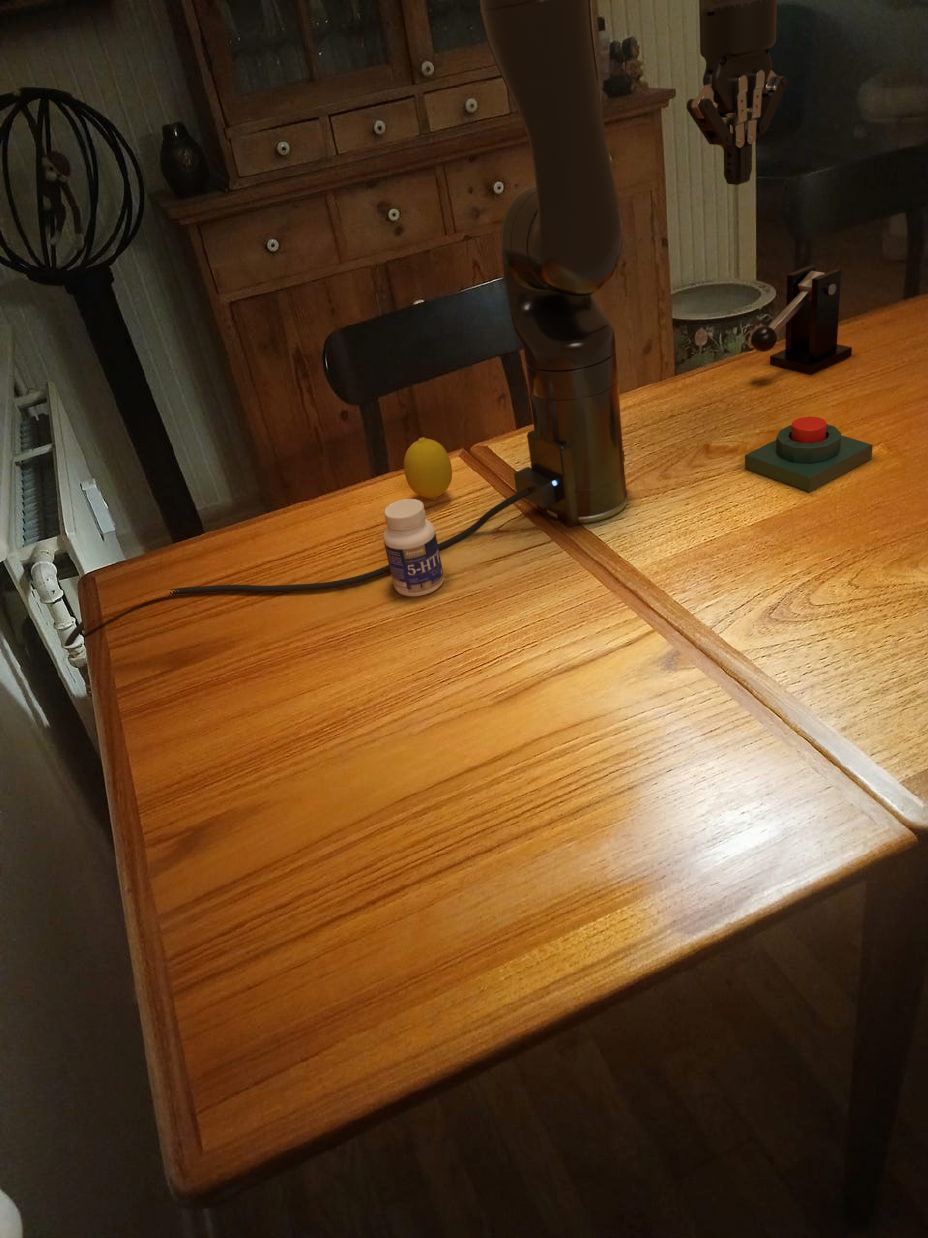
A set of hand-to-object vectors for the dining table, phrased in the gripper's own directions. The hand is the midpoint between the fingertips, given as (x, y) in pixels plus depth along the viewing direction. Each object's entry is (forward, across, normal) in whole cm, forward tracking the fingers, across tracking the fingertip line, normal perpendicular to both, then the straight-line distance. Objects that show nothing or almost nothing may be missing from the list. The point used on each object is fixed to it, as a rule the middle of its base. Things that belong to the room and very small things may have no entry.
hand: (737, 182), depth 105 cm
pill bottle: (+27, +50, +4) cm, 57 cm away
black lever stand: (+27, -18, -4) cm, 33 cm away
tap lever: (+21, -14, -4) cm, 25 cm away
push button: (+24, +6, +16) cm, 29 cm away
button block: (+27, +6, +16) cm, 32 cm away
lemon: (+27, +39, -11) cm, 49 cm away
